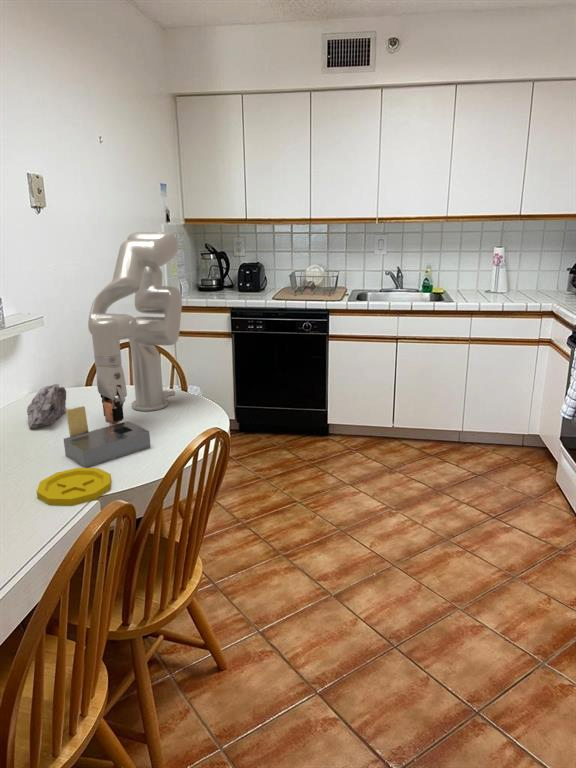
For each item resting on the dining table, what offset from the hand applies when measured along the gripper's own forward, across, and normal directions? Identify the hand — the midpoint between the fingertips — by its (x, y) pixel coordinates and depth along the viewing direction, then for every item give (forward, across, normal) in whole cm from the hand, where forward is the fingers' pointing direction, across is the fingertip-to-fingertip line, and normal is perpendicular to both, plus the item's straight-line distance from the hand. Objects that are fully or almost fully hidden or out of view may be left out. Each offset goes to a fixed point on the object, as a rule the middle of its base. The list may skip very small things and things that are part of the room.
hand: (113, 417), depth 174 cm
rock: (+6, +28, +9) cm, 30 cm away
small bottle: (+5, 0, 0) cm, 5 cm away
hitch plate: (+5, -11, +8) cm, 15 cm away
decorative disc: (+6, -26, +25) cm, 37 cm away
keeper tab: (-4, -7, +14) cm, 16 cm away
